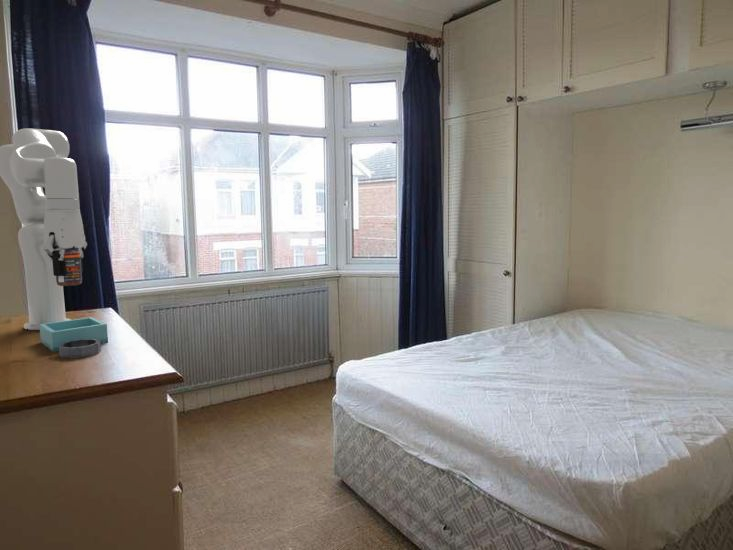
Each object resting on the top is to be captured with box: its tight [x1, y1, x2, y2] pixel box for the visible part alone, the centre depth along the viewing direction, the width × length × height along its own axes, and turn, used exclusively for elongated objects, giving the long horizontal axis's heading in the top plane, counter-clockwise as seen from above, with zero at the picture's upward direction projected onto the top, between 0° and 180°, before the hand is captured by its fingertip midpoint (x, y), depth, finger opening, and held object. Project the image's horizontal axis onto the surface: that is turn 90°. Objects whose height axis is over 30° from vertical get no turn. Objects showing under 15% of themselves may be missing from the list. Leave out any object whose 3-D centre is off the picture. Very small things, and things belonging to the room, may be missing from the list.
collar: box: [58, 339, 102, 359], centre depth 127 cm, size 9×9×2 cm
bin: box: [39, 316, 109, 352], centre depth 137 cm, size 13×13×5 cm
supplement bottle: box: [56, 246, 83, 287], centre depth 135 cm, size 6×6×11 cm
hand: (68, 273), depth 135 cm, fingers closed on supplement bottle, 6 cm apart
